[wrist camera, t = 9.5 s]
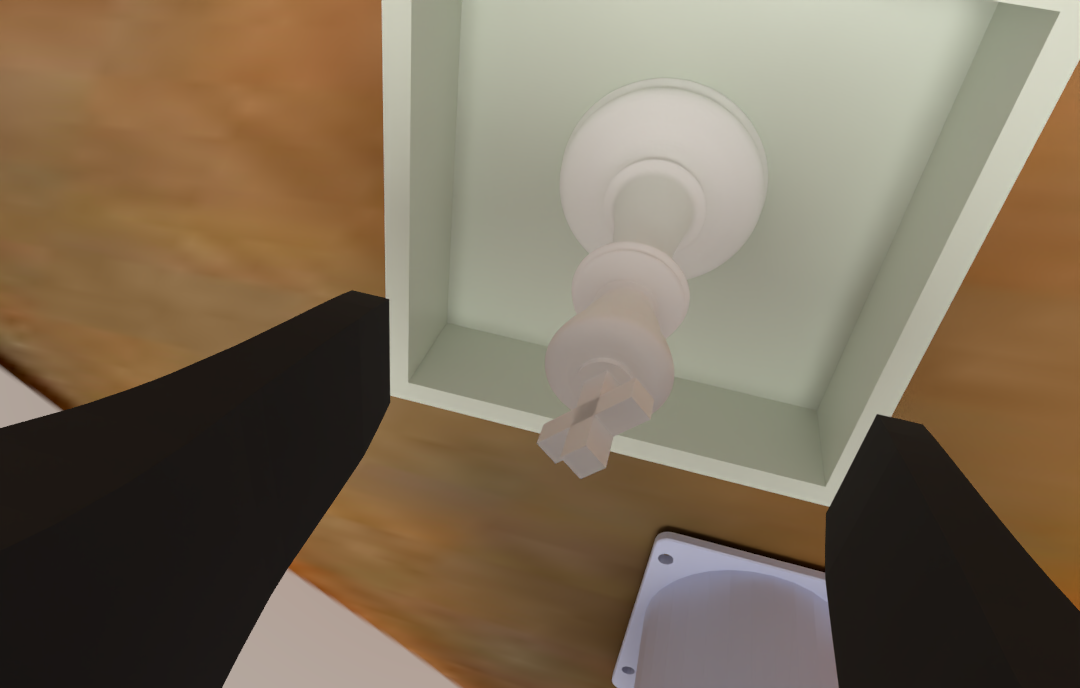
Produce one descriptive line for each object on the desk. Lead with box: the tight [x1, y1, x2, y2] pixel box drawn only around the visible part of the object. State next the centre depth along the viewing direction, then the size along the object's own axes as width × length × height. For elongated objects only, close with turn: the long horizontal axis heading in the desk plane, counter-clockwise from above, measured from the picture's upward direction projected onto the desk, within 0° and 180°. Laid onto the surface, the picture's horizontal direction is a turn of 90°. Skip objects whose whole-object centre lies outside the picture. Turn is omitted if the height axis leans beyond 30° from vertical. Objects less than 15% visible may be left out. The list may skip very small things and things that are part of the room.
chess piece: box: [537, 78, 768, 479], centre depth 14 cm, size 5×5×10 cm
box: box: [382, 0, 1080, 507], centre depth 17 cm, size 12×12×4 cm
